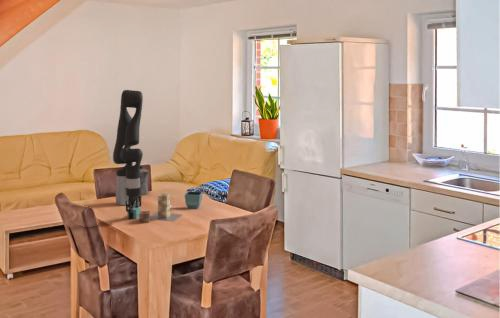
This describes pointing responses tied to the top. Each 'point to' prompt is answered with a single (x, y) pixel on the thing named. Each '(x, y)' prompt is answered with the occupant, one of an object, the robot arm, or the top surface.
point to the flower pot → (193, 199)
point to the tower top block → (163, 200)
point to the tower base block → (164, 212)
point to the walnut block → (144, 217)
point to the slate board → (171, 218)
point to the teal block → (135, 213)
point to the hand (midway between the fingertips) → (134, 217)
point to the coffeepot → (143, 181)
